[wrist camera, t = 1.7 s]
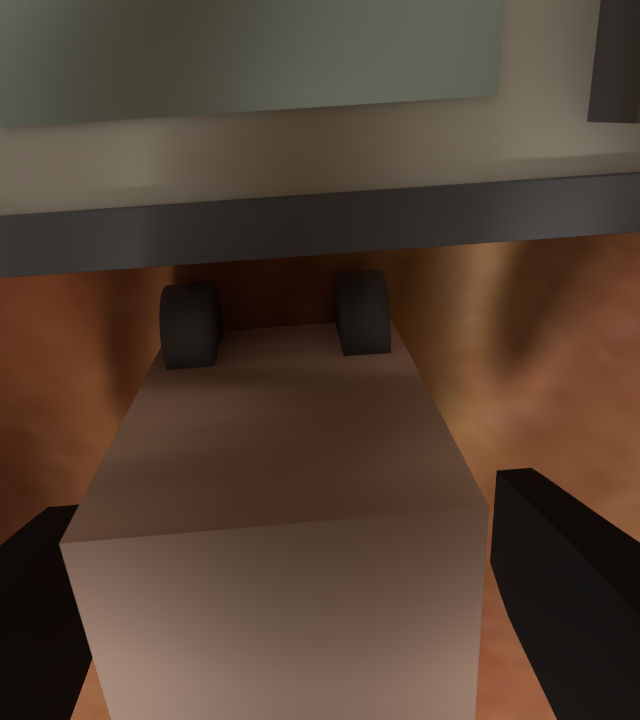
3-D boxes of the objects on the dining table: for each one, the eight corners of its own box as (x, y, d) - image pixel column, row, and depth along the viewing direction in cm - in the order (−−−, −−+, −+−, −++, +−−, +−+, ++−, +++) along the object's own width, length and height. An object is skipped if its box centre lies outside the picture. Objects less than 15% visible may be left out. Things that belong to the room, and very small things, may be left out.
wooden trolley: (215, 610, 14) (171, 924, 9) (157, 275, 11) (28, 441, 5) (393, 594, 14) (462, 894, 9) (390, 258, 11) (496, 404, 6)
